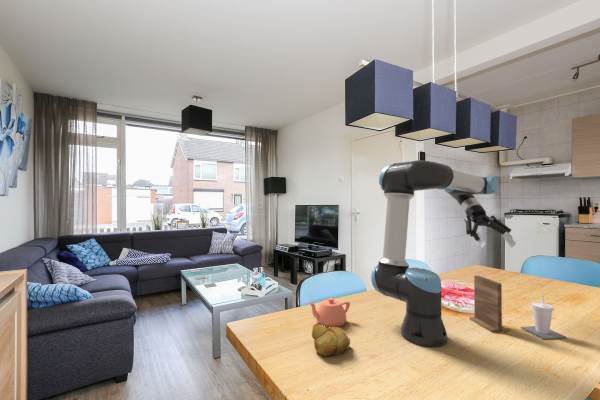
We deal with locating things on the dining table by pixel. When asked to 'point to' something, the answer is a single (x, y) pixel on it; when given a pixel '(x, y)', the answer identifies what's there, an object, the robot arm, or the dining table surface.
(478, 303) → the screen
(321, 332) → the bread roll
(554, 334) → the coaster
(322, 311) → the teapot
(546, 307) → the smoothie
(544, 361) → the dining table surface
